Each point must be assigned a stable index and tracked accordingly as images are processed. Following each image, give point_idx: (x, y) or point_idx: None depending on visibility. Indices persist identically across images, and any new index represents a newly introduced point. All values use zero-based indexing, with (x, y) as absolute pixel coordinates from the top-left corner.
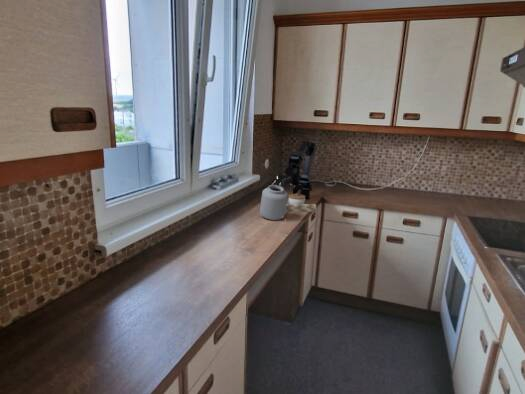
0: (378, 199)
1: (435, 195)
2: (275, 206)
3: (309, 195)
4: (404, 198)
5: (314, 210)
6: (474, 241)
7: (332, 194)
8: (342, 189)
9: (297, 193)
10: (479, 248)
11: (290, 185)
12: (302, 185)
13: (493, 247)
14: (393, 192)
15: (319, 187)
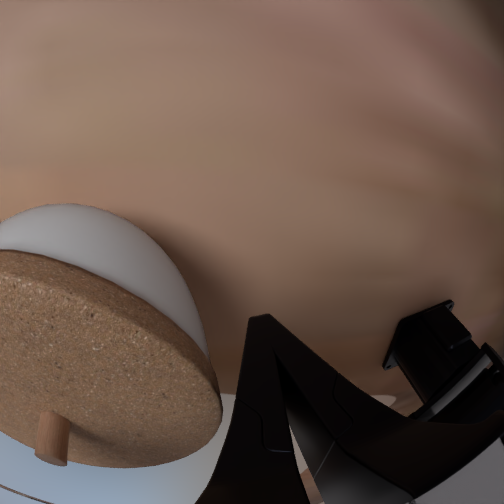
0: (311, 484)
1: (321, 499)
2: None
3: (407, 378)
4: (310, 494)
5: None
6: (39, 499)
7: (414, 411)
8: None
9: (40, 457)
10: (13, 490)
11: (478, 462)
12: (467, 420)
13: (29, 497)
14: None
15: (497, 353)
